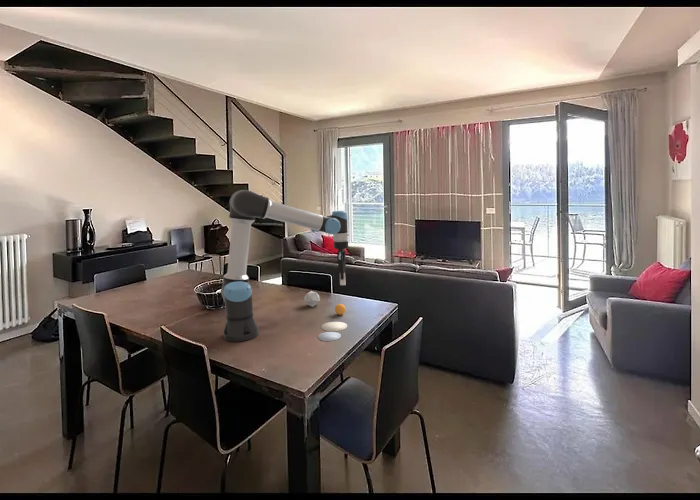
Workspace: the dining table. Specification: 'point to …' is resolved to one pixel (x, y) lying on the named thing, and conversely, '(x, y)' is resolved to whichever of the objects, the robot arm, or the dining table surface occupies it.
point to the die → (311, 298)
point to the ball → (340, 309)
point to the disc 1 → (334, 326)
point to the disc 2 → (329, 336)
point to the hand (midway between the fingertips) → (342, 284)
